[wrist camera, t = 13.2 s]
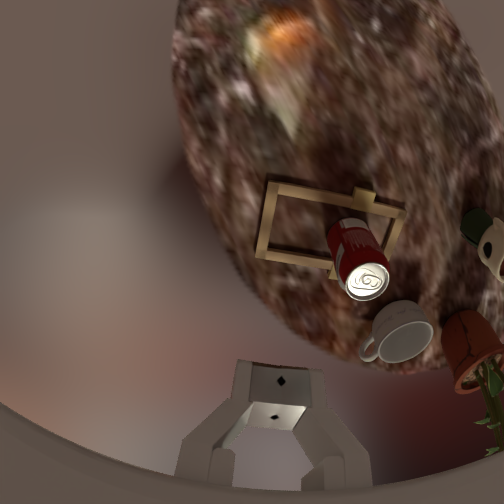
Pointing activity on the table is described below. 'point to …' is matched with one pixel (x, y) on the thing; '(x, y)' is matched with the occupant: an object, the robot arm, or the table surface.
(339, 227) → the soda can
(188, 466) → the robot arm
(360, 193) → the wooden rectangular frame
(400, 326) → the teacup
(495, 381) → the potted plant
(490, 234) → the character mug
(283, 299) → the table surface
